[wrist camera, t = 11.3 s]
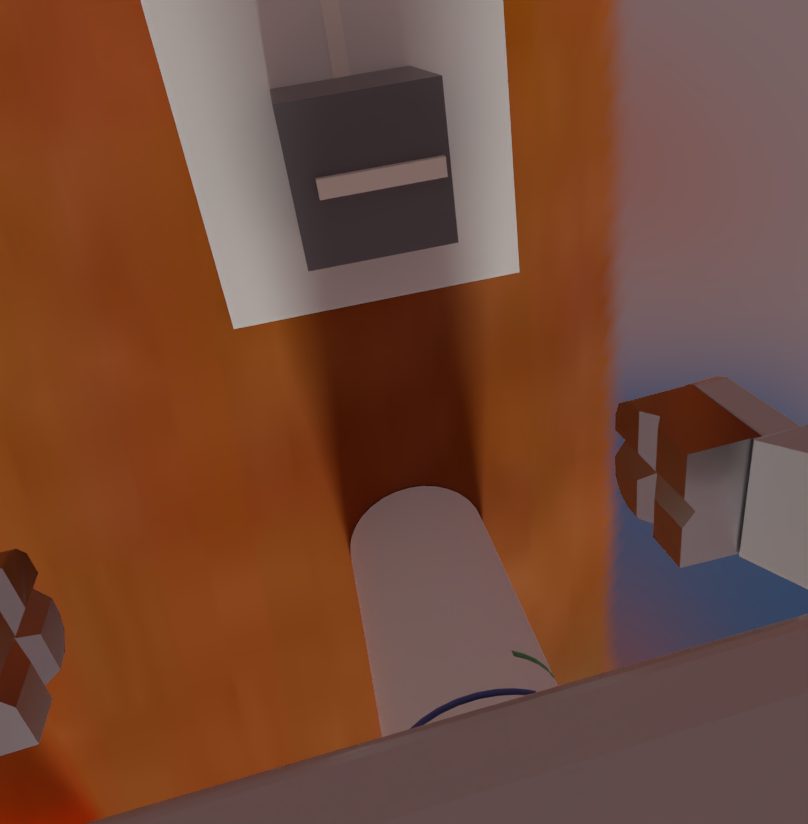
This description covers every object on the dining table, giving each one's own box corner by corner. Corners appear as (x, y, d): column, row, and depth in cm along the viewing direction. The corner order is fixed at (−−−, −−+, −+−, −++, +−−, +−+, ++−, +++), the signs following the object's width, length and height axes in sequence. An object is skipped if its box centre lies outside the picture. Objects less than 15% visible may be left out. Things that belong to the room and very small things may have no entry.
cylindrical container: (366, 478, 34) (552, 1255, 12) (500, 493, 36) (864, 1188, 14) (337, 590, 37) (446, 1371, 15) (462, 598, 39) (715, 1302, 17)
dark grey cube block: (269, 89, 24) (272, 105, 19) (409, 65, 24) (444, 76, 20) (300, 230, 27) (308, 274, 22) (426, 207, 27) (460, 244, 22)
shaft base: (234, 318, 29) (230, 364, 25) (141, -15, 23) (115, -27, 19) (510, 264, 30) (549, 299, 26) (488, -69, 24) (534, -90, 20)
